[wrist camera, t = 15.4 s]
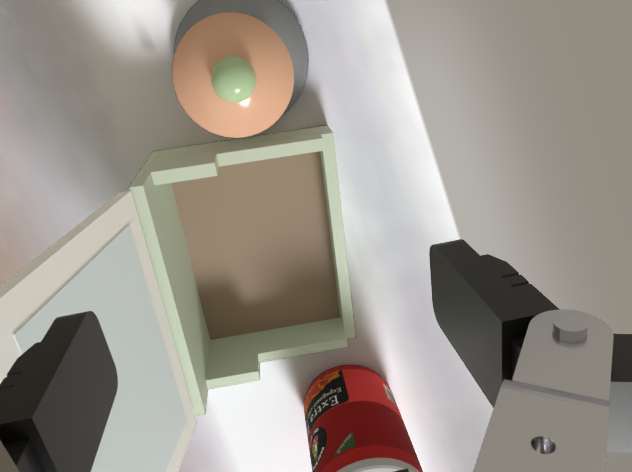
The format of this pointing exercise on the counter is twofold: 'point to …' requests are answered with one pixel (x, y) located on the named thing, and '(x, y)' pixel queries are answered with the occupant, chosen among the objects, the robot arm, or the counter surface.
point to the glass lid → (109, 333)
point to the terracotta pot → (233, 75)
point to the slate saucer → (266, 8)
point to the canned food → (356, 424)
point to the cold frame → (247, 253)
